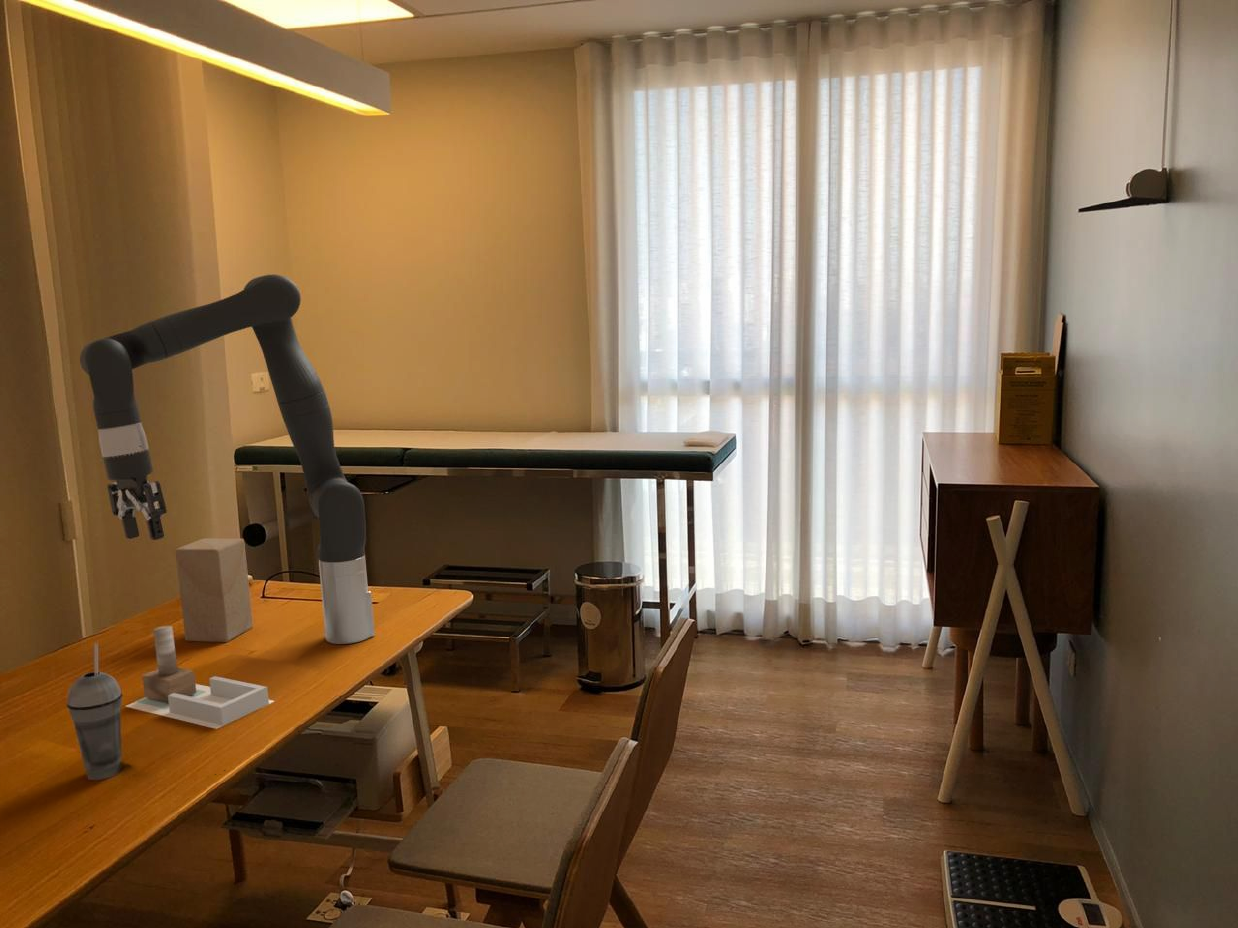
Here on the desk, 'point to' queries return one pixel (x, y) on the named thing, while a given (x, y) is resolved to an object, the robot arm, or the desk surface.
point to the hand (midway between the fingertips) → (145, 538)
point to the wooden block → (214, 589)
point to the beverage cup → (97, 721)
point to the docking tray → (210, 703)
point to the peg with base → (167, 670)
